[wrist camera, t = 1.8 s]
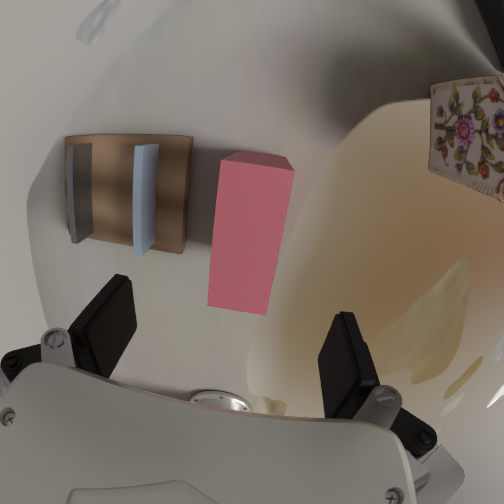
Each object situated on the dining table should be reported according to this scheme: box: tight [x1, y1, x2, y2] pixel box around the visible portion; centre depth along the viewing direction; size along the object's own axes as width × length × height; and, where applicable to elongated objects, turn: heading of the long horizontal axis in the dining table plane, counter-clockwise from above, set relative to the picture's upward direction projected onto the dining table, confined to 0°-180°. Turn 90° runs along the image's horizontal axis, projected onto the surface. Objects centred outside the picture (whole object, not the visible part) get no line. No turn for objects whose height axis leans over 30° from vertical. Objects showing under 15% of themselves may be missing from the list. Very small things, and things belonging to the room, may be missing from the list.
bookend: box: [67, 143, 94, 244], centre depth 28 cm, size 12×1×4 cm, turn 172°
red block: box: [207, 150, 294, 315], centre depth 26 cm, size 12×5×12 cm, turn 172°
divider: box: [133, 144, 159, 256], centre depth 28 cm, size 12×1×4 cm, turn 172°
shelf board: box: [65, 134, 193, 254], centre depth 30 cm, size 14×18×2 cm
